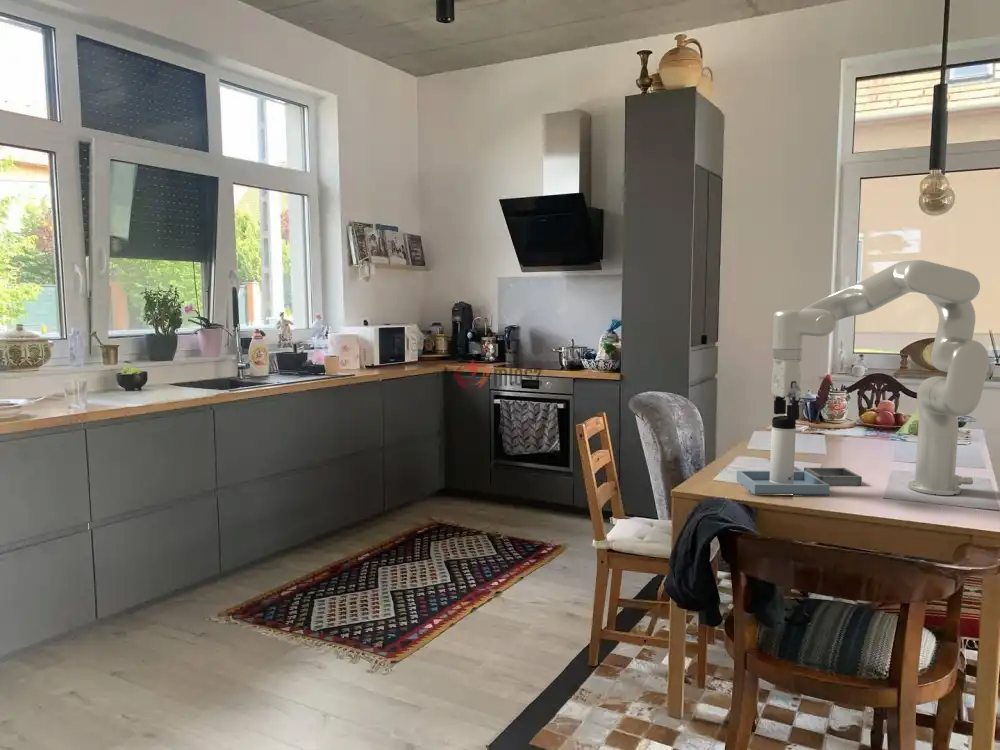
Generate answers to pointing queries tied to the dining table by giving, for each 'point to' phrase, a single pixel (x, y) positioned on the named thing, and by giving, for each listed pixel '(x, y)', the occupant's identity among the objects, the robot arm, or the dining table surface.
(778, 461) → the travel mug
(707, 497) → the dining table surface
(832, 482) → the small grey square tray
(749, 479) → the tray
